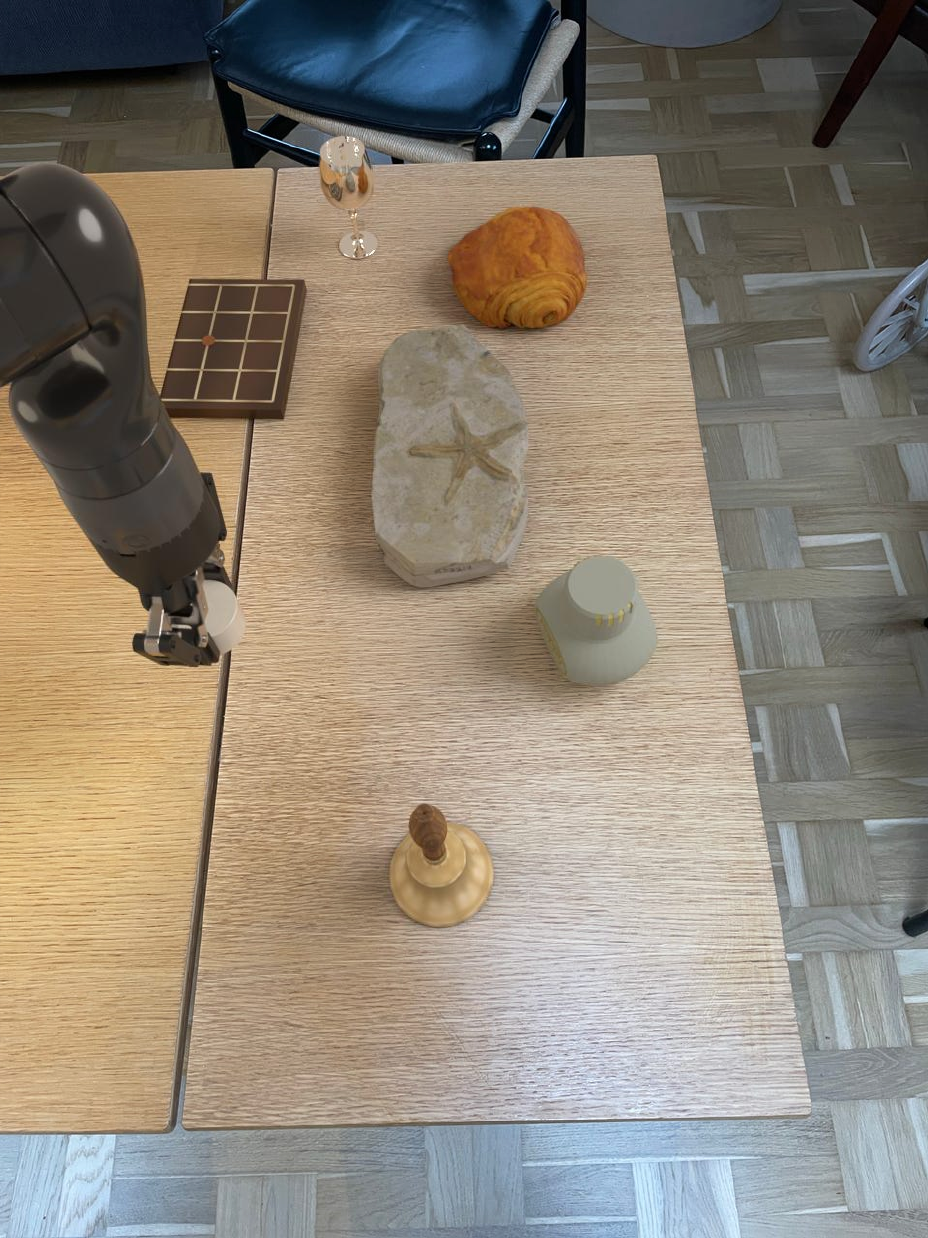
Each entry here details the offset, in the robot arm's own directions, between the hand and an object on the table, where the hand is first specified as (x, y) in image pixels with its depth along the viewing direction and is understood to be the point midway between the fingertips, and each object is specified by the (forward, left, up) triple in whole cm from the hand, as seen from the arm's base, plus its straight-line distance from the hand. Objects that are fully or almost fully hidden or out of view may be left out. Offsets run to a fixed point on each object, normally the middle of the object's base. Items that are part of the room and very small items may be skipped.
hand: (212, 625), depth 72 cm
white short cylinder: (0, 0, 0) cm, 0 cm away
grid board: (-11, +40, -15) cm, 44 cm away
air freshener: (+29, +7, -15) cm, 33 cm away
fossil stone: (+15, +26, -15) cm, 33 cm away
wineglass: (+3, +56, -15) cm, 58 cm away
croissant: (+21, +50, -15) cm, 56 cm away
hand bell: (+17, -14, -15) cm, 27 cm away
